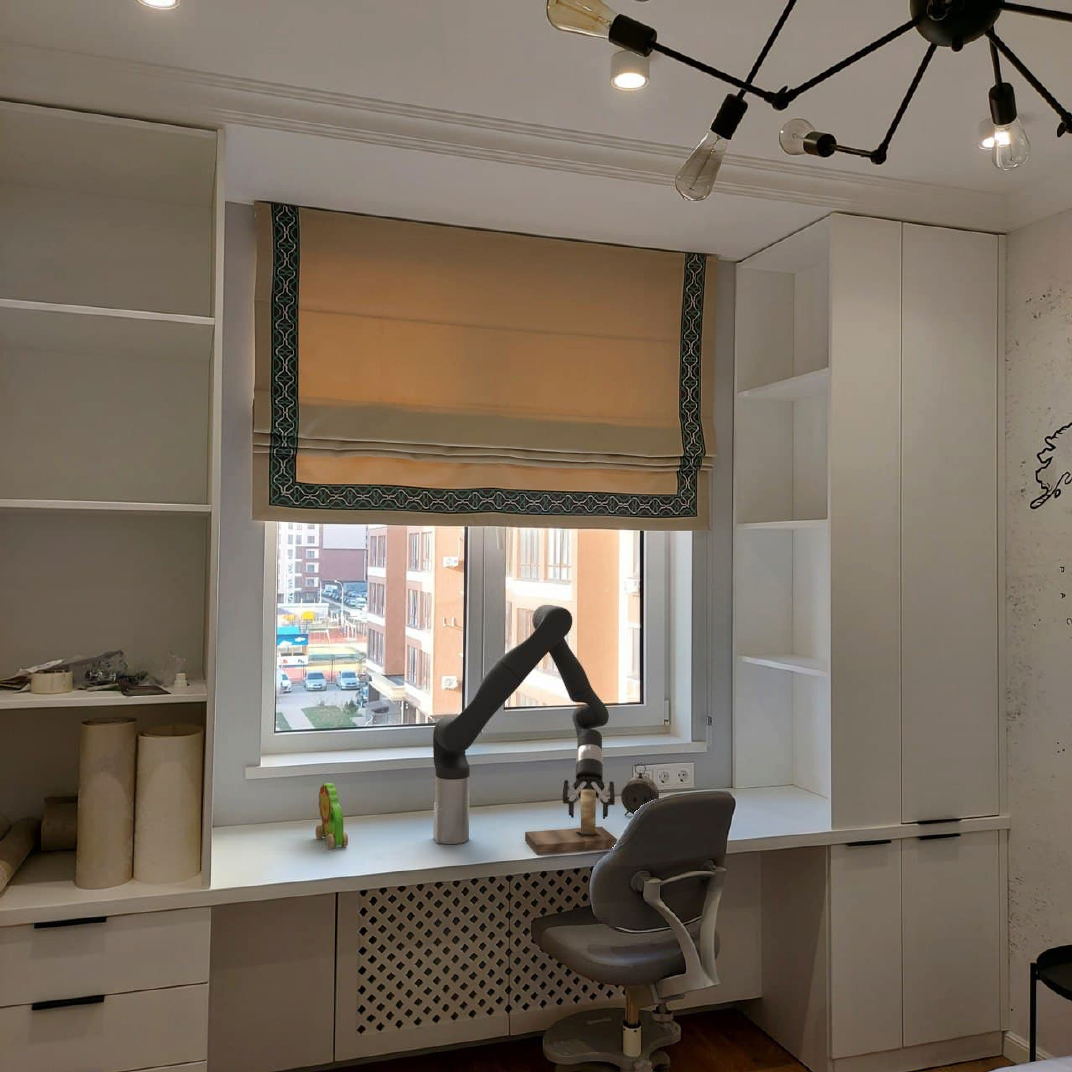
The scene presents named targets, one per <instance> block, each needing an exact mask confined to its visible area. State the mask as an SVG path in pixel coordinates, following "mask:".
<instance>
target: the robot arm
mask: <svg viewBox="0 0 1072 1072" xmlns="http://www.w3.org/2000/svg"><path fill="white" fill-rule="evenodd" d="M531 621H532V625H533V628H534V630H533V632H532V634H531V635H529V637H527V638H526V639H525V640H524V641H523V642H521V643H519V644H517V645H516V646H515V647H512V648H511V649H510V650H508V651H507V652H506V653H504V654H503V655H501V657H499V658H498V659H497V661H495V663H494V664H493V665H492V666H491V667H490V668H489V670H488V671H487V672H486V673H485V675H484V677H482V679H481V682H480V684H479V686H478V688H477V691H476V693H475V695H474V697H473V698H472V700H471V701H470V702H469V704H468V705H467V706H466V707H465V708H464V709H463V710H462V711H461V712H460V713H459V714H458V715H454V714H453V715H451V714H450V715H449V714H448V715H444V716H442V717H441V718H440V719H438V720H437V722H436V723H435V726H434V729H433V735H432V737H433V738H432V740H433V741H432V743H433V745H432V746H433V748H432V749H433V751H432V752H433V757H432V758H433V765H434V769H435V795H434V796H435V801H434V802H433V832H432V833H433V839H434V840H435V842H436V844H444V845H457V844H458V845H459V844H464V843H466V842H468V841H469V840H470V777H471V776H470V764H469V762H468V760H467V756H466V750H468V749H469V748H470V747H471V746H472V745H473V743H475V741H476V739H477V738H478V736H479V735H480V733H481V732H482V730H483V729H484V728H485V726H486V725H487V724H488V722H489V721H490V719H491V718H493V716H494V715H495V714H496V713H497V712H498V710H499V709H500V708H502V706H503V705H504V704H505V702H506V701H508V699H509V698H510V697H511V696H512V695H513V694H514V693H515V692H516V690H517V689H518V688H519V687H520V686H521V684H522V683H523V682H524V681H525V679H526V678H527V677H528V676H529V675H531V672H532V671H533V670H534V669H535V668H536V667H537V666H538V664H539V663H540V662H541V661H542V660H543V658H545V656H546V655H547V654H549V655H550V657H551V659H552V661H553V662H554V664H555V666H556V668H557V671H558V674H559V676H560V678H561V680H562V682H563V684H564V687H565V690H566V692H567V694H568V696H569V699H570V700H571V702H573V703H582V704H585V705H580V706H578V707H576V708H575V709H574V710H573V712H572V722H573V724H574V728H575V731H576V738H577V749H576V750H577V751H576V756H575V757H576V758H575V759H576V760H575V779H574V781H573V782H572V781H569V780H568V779H564V781H563V787H562V788H563V789H562V790H563V791H562V796H561V797H562V803H563V804H564V805H565V804H567V805H568V816H570V817H571V818H572V819H573V818H574V815H575V804H576V803H577V802H578V801H580V800H581V790H584V789H591V790H595V791H596V800H598V802H600V803H601V805H602V819H603V820H606V818H607V817H608V816H609V806H614V805H615V804H616V798H615V797H616V796H615V795H616V794H615V783H614V781H611V780H610V781H609V782H607V783H606V782H604V780H603V778H604V777H603V771H604V770H603V769H604V767H603V766H604V757H603V737H602V734H601V732H600V731H599V730H597V728H601V727H603V726H605V725H607V723H609V719H610V717H609V714H610V713H609V710H608V708H607V707H606V705H605V704H604V702H603V701H602V699H600V697H599V696H598V694H597V693H596V692H595V691H594V689H593V688H592V686H591V683H590V681H589V678H588V676H587V673H586V671H585V669H584V667H583V665H582V664H581V662H580V661H579V660H578V657H576V655H575V654H574V653H573V651H572V649H571V648H570V646H569V644H568V643H567V641H566V639H565V637H567V635H568V634H569V633H570V631H571V629H572V626H573V616H572V613H571V612H570V611H569V610H568V609H567V608H565V607H564V606H563V607H562V606H559V605H553V604H542V605H539V606H538V607H537V608H536V609H535V610H534V611H533V614H532V619H531ZM572 788H573V789H574V791H573V793H572V794H571V796H570V797H569V795H568V794H569V791H571V790H572ZM604 789H606V791H607V792H609V798H607V796H606V795H605V794H604V792H603V790H604ZM463 842H464V843H463Z"/></svg>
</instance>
